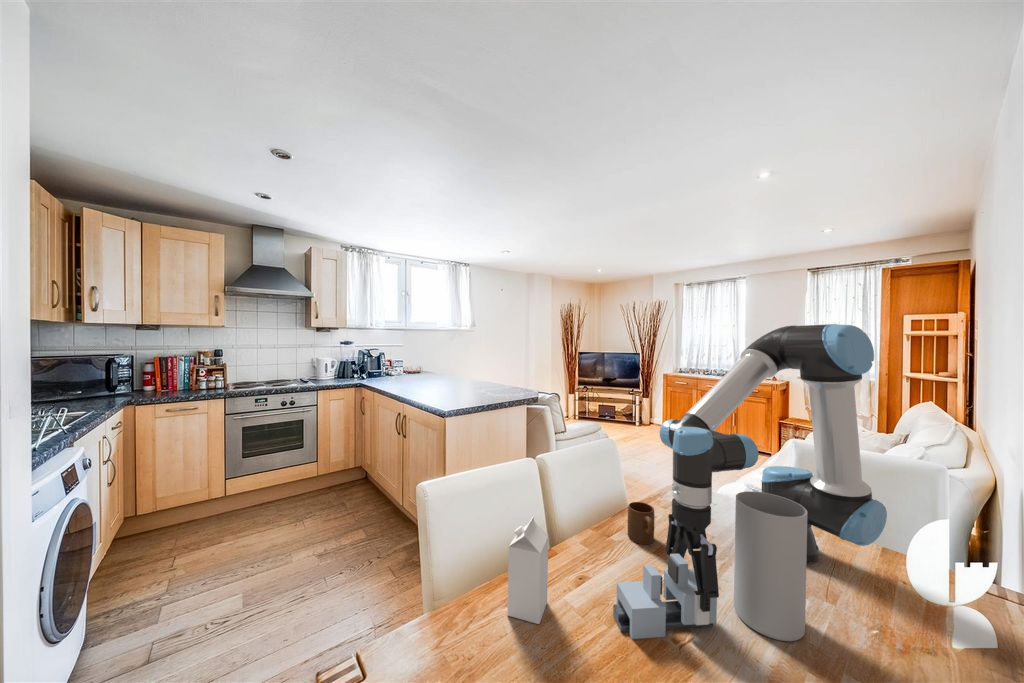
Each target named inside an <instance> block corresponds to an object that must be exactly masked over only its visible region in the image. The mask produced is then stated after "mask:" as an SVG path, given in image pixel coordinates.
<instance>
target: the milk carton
mask: <svg viewBox="0 0 1024 683" xmlns="http://www.w3.org/2000/svg"><path fill="white" fill-rule="evenodd" d="M514 534H515V536H514V537H513V539H512V540H511V543H510V544H509V545H508V555H507V556H508V558H507V559H508V563H507V565H508V566H507V568H508V569H507V572H508V573H507V575H508V576H507V616H509V617H511V618H515V619H519V620H521V621H525V622H529V623H533V624H536V625H540V624H541V622H542V618H543V615H544V612H545V610H546V607H547V604H548V580H549V579H548V576H549V575H548V574H549V568H548V567H549V566H548V565H549V535H548V534H547V533H546V532H545V531H544V530H543V529H542V528H541V526H540V525H539V524H538V523H537V522H536V521H535V516H534V515H533V516H532V517H531V519H530V520H529V522H528V523H527V524H526V525H525V526H523V525H519V526H518V527H517V528H516V529H515V530H514Z"/></svg>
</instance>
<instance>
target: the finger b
mask: <svg viewBox="0 0 1024 683" xmlns="http://www.w3.org/2000/svg"><path fill="white" fill-rule="evenodd" d="M695 590H698V589H697V584H696V578H695V573H694V568H689V563H688V561H687V560H686V559H685V558H684V559H683V558H682V557H681V555H680V554H670V556H668V557H667V569H665V570H663V599H665V601H678V602H679V603H680V604H681V622H682V623H683V625H692V624H695V623H694V606H695V592H694V591H695ZM717 608H718V598H710V611H709V623H713V624H717V619H718V618H717V615H718V614H717V613H718V612H717V610H718V609H717Z"/></svg>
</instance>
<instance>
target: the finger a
mask: <svg viewBox="0 0 1024 683" xmlns="http://www.w3.org/2000/svg"><path fill="white" fill-rule="evenodd" d="M642 573H643V576H642V580H638V581H620V582H619V581H617V582H616V604H622V606H623V608H624V609H625V611H626V613H627V615H628V617H629V618H630V632H629V636H630V639H631V640H636V639H637V640H638V639H639V640H640V639H651V638H666V629H665V625H666V607H665V605H664V604H663V602H664V601H662V599H661V596H662V595H663V579H664V576H662V575H661V573H660V572H659V571H658V569H656V567H655V566H654V564H643V572H642ZM616 604H615V605H616Z"/></svg>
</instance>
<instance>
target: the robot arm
mask: <svg viewBox="0 0 1024 683" xmlns="http://www.w3.org/2000/svg"><path fill="white" fill-rule="evenodd" d="M874 359H875V351H874V347H873V342H872V341H871V339H870V337H869V335H868V334H867V333H866V332H865V331H863V329H861V328H860V327H859V326H856V325H852V324H839V323H838V324H837V323H830V324H807V325H787V326H781V327H779V328H775V329H774V330H772V331H769V332H767V333H766V334H763V335H762V336H760V337H759V338H758V339H756V340H755V341H753V342H752V343H751V344H750V345H749V346H748V347H746V348H745V349H744V350H743V351H742V352H741V354H740V360H738V361H737V363H736V364H734V365H733V366H732V367H731V368H730V369H729V370H728V372H726V373H725V374H724V375H723V376H722V377H721V378H720V379H719V380H718V381H717V382H716V383H715V384H714V385H713V386H712V387H711V388H710V389H709V390H708V391H706V393H705V394H704V395H703V396H701V398H699V399H698V400H697V402H696V403H695V404H694V405H693V406H692V407H690V409H688V411H686V412H685V414H684V415H683V416H681V417H680V419H673V418H671V419H668V420H667V419H666V420H665V421H664V422H663V423H662V424H661V427H660V429H659V438H660V440H661V442H662V444H664V446H666V447H667V448H669V449H671V450H672V486H671V490H672V498H671V514H670V513H669V514H668V529H667V538H666V545H665V553H666V554H665V555H666V556H668V557H670V554H680V555H681V557H682V558H683V559H684V560H685V557H686V556H685V555H686V553H688V555H689V556H691V561H692V567H693V568H692V569H694V573H695V578H696V584H697V589H698V590H695V591H694V592H695V606H694V623H695V624H696V625H709V611H710V598H717V599H718V598H720V592H719V581H718V570H717V550H718V547H717V544H715V543H710V542H709V541H708V539H707V536H708V535H707V534H706V532H707V531H706V529H707V527H709V526H710V525H711V522H712V506H711V504H712V502H713V501H712V500H713V499H712V497H713V496H712V495H713V494H712V491H713V488H712V486H713V485H712V484H713V483H712V482H713V473H720V472H729V471H741V470H742V471H743V470H744V469H749V468H752V467H754V466H755V465H756V464H757V463H758V460H759V449H758V446H757V444H756V443H755V442H754V441H753V439H752V438H750V437H749V436H748V435H745V434H743V433H742V434H741V433H739V434H738V433H731V434H729V433H727V434H726V433H723V432H719V431H715V430H717V429H718V428H719V426H720V425H721V424H722V423H724V421H725V420H726V419H727V418H729V416H730V415H731V414H732V413H733V412H734V411H735V410H736V409H737V408H738V407H739V406H740V405H741V404H742V403H743V402H744V401H745V400H746V399H747V398H748V397H749V396H750V395H751V394H752V393H753V392H754V391H755V390H756V389H757V388H758V386H760V385H761V383H762V382H764V381H765V380H766V378H767V379H768V378H772V377H774V376H775V375H776V374H778V372H780V371H783V370H789V369H791V370H799V375H800V380H801V381H802V382H804V383H805V384H806V385H807V386H808V390H809V391H808V394H809V402H810V413H811V424H812V436H813V446H814V459H815V468H816V474H815V475H813V473H812V471H810V470H808V469H804V468H801V467H794V466H784V465H775V466H774V465H772V466H767V467H765V468H764V469H763V470H762V476H761V480H760V481H761V492H763V493H769V494H773V495H777V496H781V497H784V498H787V499H790V500H792V501H794V502H796V503H798V504H800V505H802V506H803V507H804V508H805V509H806V510H807V559H806V564H814V563H816V562H818V561H819V559H820V549H819V546H818V544H817V542H816V538H815V533H814V532H813V529H812V526H813V527H815V528H818V529H820V530H822V531H824V532H826V533H829V534H831V535H832V536H835V537H838V538H840V539H841V540H842V541H847V542H849V543H852V544H854V545H857V546H861V547H862V546H863V547H864V546H865V547H866V546H868V545H872V544H873V543H875V541H877V540H878V538H879V537H880V536H881V535H882V533H883V532H884V530H885V527H886V523H887V517H888V511H887V508H886V506H885V505H884V504H883V502H880V501H879V500H877V499H873V494H872V493H873V492H872V487H871V486H870V485H869V484H868V483H867V482H865V481H864V480H863V477H862V464H861V463H862V462H861V450H860V439H859V437H860V436H859V426H858V415H857V404H856V403H857V402H856V390H855V386H856V385H857V384H858V383H859V382H861V381H862V380H863V374H864V375H865V374H866V373H868V372H869V371H870V370H871V368H872V367H873V365H874V364H873V362H874V361H875V360H874Z"/></svg>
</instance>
